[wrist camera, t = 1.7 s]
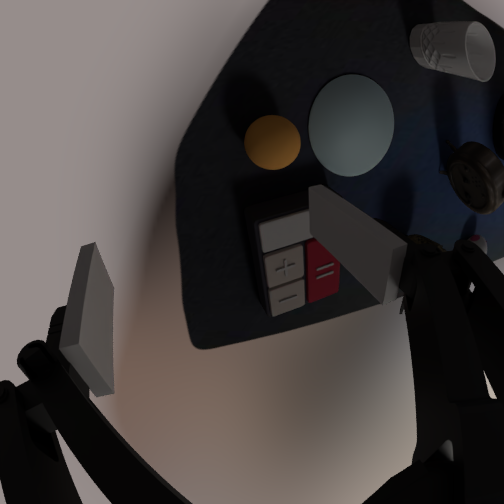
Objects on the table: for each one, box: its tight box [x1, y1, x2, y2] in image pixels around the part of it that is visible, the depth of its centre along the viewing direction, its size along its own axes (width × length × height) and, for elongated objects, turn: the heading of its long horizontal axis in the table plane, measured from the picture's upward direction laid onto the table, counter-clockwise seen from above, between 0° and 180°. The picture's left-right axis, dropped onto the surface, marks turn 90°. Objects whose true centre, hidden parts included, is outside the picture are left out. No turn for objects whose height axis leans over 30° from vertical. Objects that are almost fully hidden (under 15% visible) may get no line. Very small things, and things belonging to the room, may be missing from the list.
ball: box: [244, 115, 301, 170], centre depth 30 cm, size 6×6×6 cm
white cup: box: [409, 21, 496, 82], centre depth 27 cm, size 8×8×10 cm
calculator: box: [244, 185, 343, 317], centre depth 39 cm, size 11×4×15 cm
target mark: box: [308, 74, 394, 176], centre depth 34 cm, size 13×13×1 cm
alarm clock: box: [439, 140, 504, 214], centre depth 36 cm, size 11×5×16 cm, turn 32°
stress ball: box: [468, 235, 487, 254], centre depth 55 cm, size 8×8×7 cm
